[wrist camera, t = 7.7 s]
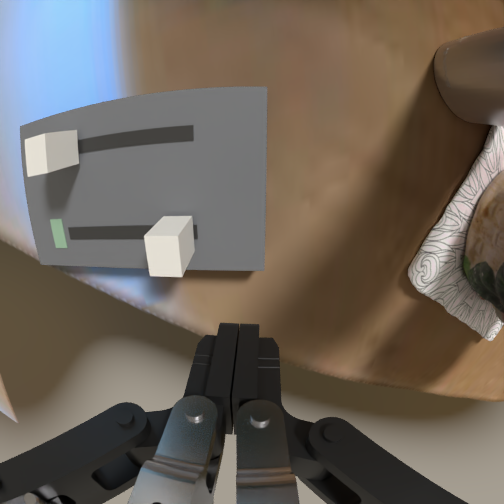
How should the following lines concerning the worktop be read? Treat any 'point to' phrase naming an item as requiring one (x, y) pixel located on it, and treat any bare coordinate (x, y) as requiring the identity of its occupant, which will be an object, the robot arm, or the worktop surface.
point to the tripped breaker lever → (170, 246)
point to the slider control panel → (156, 179)
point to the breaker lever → (51, 152)
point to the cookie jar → (469, 246)
